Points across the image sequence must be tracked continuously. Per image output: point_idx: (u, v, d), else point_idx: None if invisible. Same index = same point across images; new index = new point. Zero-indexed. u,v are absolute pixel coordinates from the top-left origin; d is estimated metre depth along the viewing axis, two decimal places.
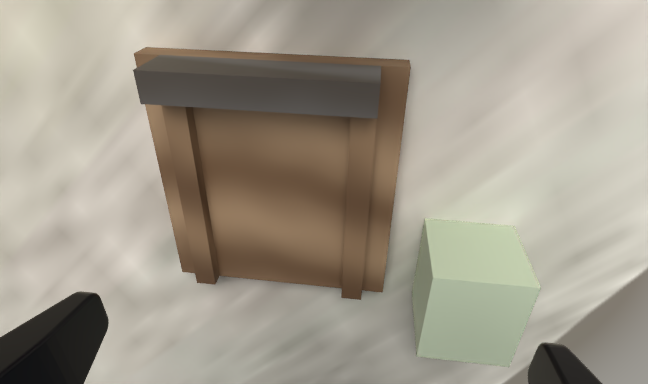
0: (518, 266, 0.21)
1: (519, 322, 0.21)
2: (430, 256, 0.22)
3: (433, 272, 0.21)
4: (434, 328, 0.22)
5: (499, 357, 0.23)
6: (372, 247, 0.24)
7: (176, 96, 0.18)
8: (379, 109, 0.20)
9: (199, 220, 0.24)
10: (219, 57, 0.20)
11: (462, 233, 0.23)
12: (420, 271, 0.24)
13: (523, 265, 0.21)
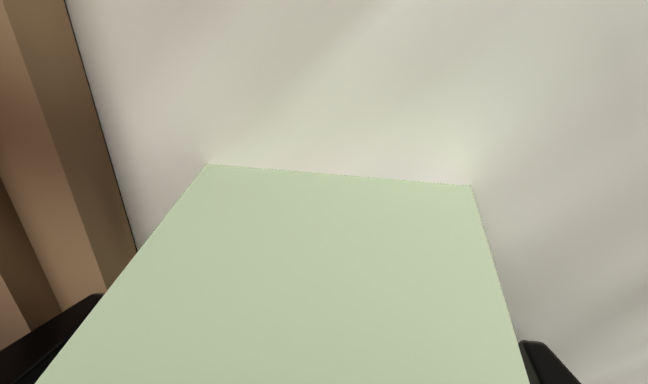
0: (457, 342, 0.05)
1: None
2: (114, 287, 0.05)
3: (53, 368, 0.04)
4: None
5: None
6: (51, 249, 0.08)
7: None
8: None
9: None
10: None
11: (294, 205, 0.07)
12: None
13: (480, 335, 0.05)
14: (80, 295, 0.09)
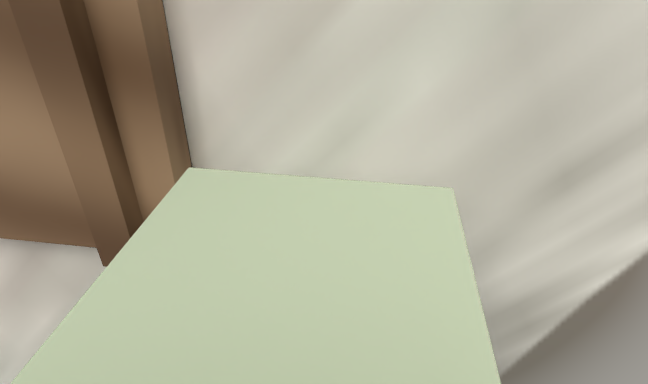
0: (431, 353, 0.05)
1: None
2: (84, 299, 0.05)
3: None
4: None
5: None
6: (139, 158, 0.12)
7: None
8: None
9: None
10: None
11: (274, 212, 0.07)
12: None
13: (456, 346, 0.05)
14: (156, 196, 0.12)
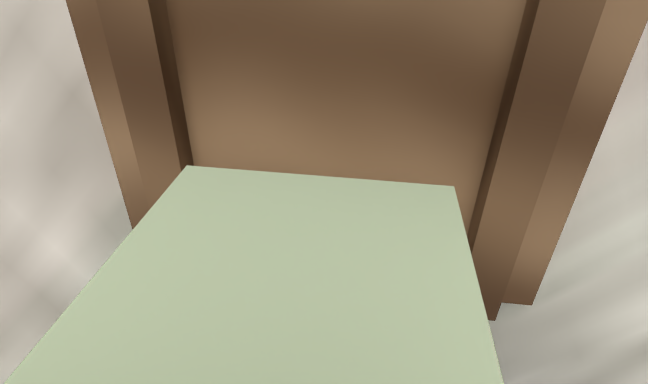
0: (433, 354, 0.05)
1: None
2: (79, 298, 0.05)
3: None
4: None
5: None
6: (534, 213, 0.12)
7: None
8: None
9: (166, 153, 0.11)
10: None
11: (272, 210, 0.07)
12: None
13: (458, 347, 0.05)
14: (529, 248, 0.12)
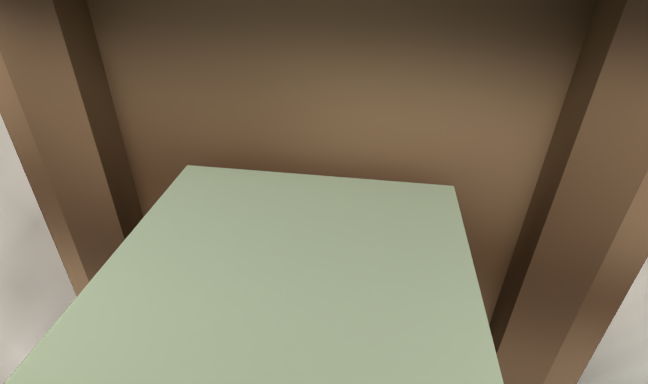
0: (433, 353, 0.05)
1: None
2: (80, 298, 0.05)
3: None
4: None
5: None
6: None
7: None
8: None
9: None
10: None
11: (272, 210, 0.07)
12: None
13: (457, 346, 0.05)
14: None
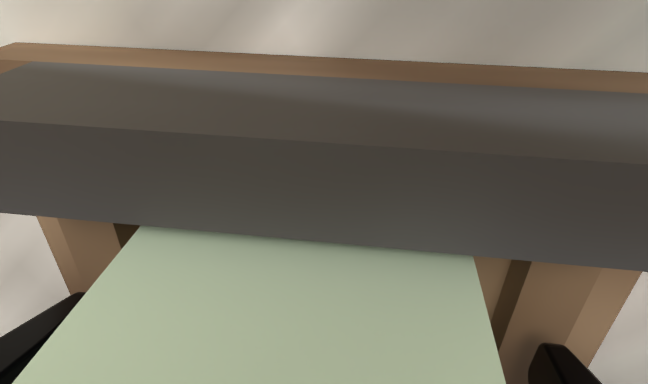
0: (434, 336, 0.05)
1: None
2: (95, 286, 0.05)
3: (32, 366, 0.04)
4: None
5: None
6: None
7: (47, 192, 0.06)
8: None
9: None
10: (188, 68, 0.07)
11: None
12: None
13: (457, 330, 0.05)
14: None
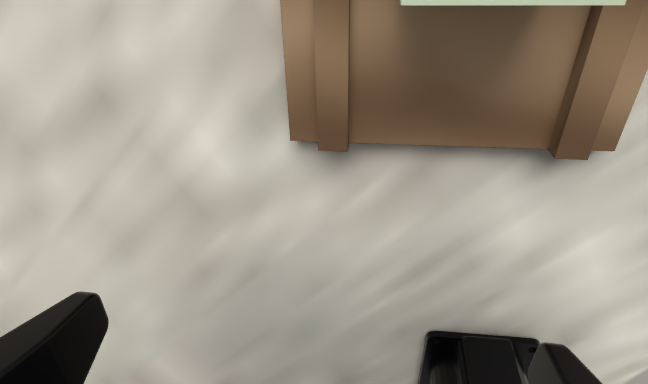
0: None
1: None
2: None
3: None
4: None
5: None
6: (623, 61, 0.15)
7: None
8: None
9: (339, 21, 0.14)
10: None
11: None
12: None
13: None
14: (616, 95, 0.15)
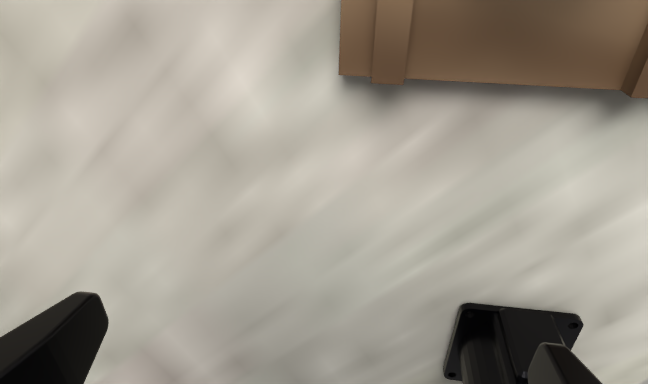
0: None
1: None
2: None
3: None
4: None
5: None
6: None
7: None
8: None
9: None
10: None
11: None
12: None
13: None
14: None
